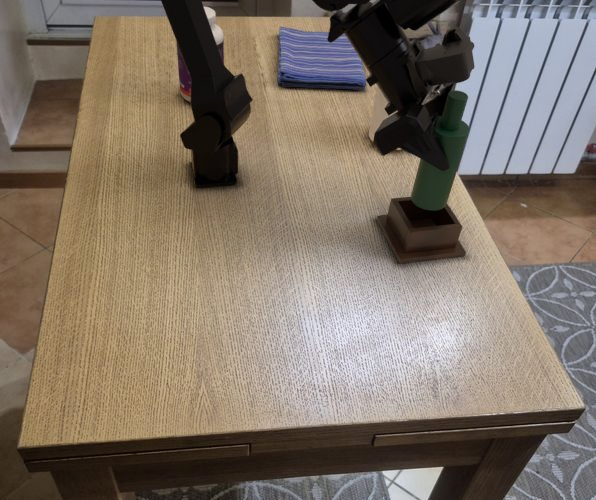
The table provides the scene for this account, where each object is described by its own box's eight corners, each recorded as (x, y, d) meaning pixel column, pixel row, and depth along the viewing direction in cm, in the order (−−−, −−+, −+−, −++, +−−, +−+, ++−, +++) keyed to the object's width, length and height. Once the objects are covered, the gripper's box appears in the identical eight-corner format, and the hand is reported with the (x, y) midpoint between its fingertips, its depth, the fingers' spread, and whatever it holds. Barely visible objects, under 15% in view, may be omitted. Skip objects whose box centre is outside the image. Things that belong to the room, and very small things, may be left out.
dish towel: (277, 88, 116) (277, 73, 114) (277, 35, 132) (277, 21, 130) (367, 93, 117) (369, 79, 115) (356, 40, 133) (358, 26, 131)
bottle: (418, 212, 83) (447, 106, 71) (405, 190, 86) (431, 85, 74) (452, 209, 84) (486, 104, 72) (438, 187, 87) (468, 84, 75)
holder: (399, 263, 86) (405, 238, 82) (376, 219, 92) (381, 194, 88) (464, 256, 88) (473, 230, 84) (437, 213, 94) (444, 188, 90)
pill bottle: (187, 109, 109) (180, 24, 98) (175, 88, 114) (168, 4, 103) (230, 104, 111) (229, 20, 100) (217, 83, 116) (215, 1, 105)
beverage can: (389, 157, 103) (403, 88, 94) (358, 135, 107) (369, 66, 98) (423, 144, 107) (440, 76, 98) (393, 123, 111) (406, 56, 102)
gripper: (422, 43, 62) (495, 169, 68) (462, -15, 74) (521, 97, 80) (340, 98, 69) (412, 207, 76) (387, 37, 81) (447, 136, 87)
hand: (451, 159), depth 79 cm, fingers closed on bottle, 5 cm apart
